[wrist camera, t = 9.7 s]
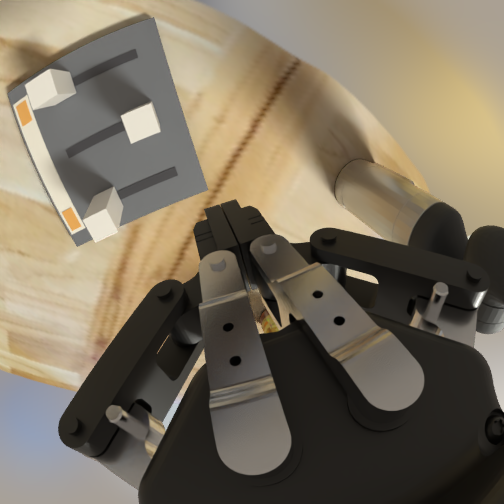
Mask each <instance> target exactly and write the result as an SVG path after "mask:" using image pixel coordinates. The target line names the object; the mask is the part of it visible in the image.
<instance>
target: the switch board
mask: <svg viewBox="0 0 504 504" xmlns="http://www.w3.org/2000/svg"><path fill="white" fill-rule="evenodd" d="M48 69H55V70H61V71H67V72H70V74H71V78H72V81H73V84H74V87H75V90H76V94H74V95H72V96H70V97H69V98H67V99H65V100H63V101H62V102H60V103H58V104H56V105H54V106H49V107H44V108H40V109H36V110H33V109H32V106H31V103H30V100H29V97H28V94H27V91H26V87H25V85H26V84H27V83H28V82H30V81H31V80H33V79H34V78H36V77H37V76H39V75H40V74H42V73H44V72H45V71H47V70H48ZM8 97H9V100H10V103H11V106H12V110H13V113H14V116H15V119H16V121H17V124H18V127H19V130H20V132H21V135H22V138H23V140H24V143H25V145H26V148H27V150H28V153H29V155H30V157H31V160H32V162H33V164H34V166H35V169H36V171H37V173H38V175H39V177H40V179H41V181H42V184H43V186H44V188H45V190H46V192H47V194H48V196H49V198H50V200H51V201H52V203H53V205H54V207H55V209H56V211H57V213H58V215H59V216H60V218H61V220H62V222H63V224H64V225H65V227H66V229H67V230H68V232H69V234H70V236H71V237H72V239H73V241H74V242H75V244H76V246H77V247H78V246H80V245H82V244H84V243H86V242H88V241H90V240H92V239H93V238H92V236H91V235H90V233H89V231H88V229H87V227H86V226H85V224H84V222H83V218H84V216H85V213H86V211H87V209H88V207H89V205H90V203H91V201H92V199H93V197H94V196H95V195H97V194H99V193H101V192H103V191H105V190H107V189H109V188H111V187H113V186H114V187H115V190H116V192H117V194H118V196H119V198H120V200H121V202H122V204H123V211H122V216H121V221H120V226H122V225H124V224H126V223H129V222H131V221H133V220H135V219H138V218H140V217H142V216H145V215H147V214H149V213H152V212H154V211H156V210H159V209H161V208H164V207H166V206H169V205H171V204H173V203H176V202H178V201H181V200H183V199H186V198H188V197H191V196H194V195H196V194H199V193H201V192H204V191H207V190H208V188H207V185H206V182H205V179H204V176H203V173H202V170H201V167H200V164H199V161H198V158H197V155H196V151H195V148H194V145H193V142H192V139H191V136H190V133H189V130H188V127H187V124H186V121H185V117H184V114H183V111H182V108H181V105H180V102H179V99H178V95H177V92H176V89H175V86H174V82H173V79H172V76H171V73H170V69H169V66H168V63H167V60H166V56H165V53H164V50H163V46H162V43H161V40H160V36H159V33H158V29H157V26H156V22H155V19H154V17H153V18H150V19H147V20H144V21H141V22H138V23H135V24H133V25H130V26H127V27H125V28H122V29H120V30H117V31H115V32H112V33H110V34H108V35H105V36H103V37H101V38H99V39H97V40H94V41H92V42H90V43H88V44H86V45H84V46H82V47H80V48H78V49H76V50H74V51H72V52H71V53H69V54H67V55H65V56H63V57H62V58H60V59H58V60H56V61H55V62H53V63H51V64H50V65H48V66H46V67H45V68H43V69H42V70H40V71H39V72H37V73H36V74H34V75H33V76H31V77H30V78H28V79H27V80H25V81H24V82H22V83H21V84H20V85H18V86H17V87H16V88H14V89H13V90H12V91H10V92H9V93H8ZM151 101H152V103H153V106H154V109H155V112H156V115H157V117H158V120H159V123H160V131H161V132H159V133H156V134H154V135H151V136H149V137H146V138H144V139H141V140H139V141H137V142H134V143H132V144H131V142H130V140H129V137H128V134H127V132H126V129H125V126H124V124H123V121H122V118H121V115H123V114H124V113H126V112H127V111H129V110H132V109H134V108H136V107H139V106H141V105H144V104H146V103H149V102H151ZM120 226H119V227H120Z"/></svg>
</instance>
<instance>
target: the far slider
mask: <svg viewBox="0 0 504 504" xmlns="http://www.w3.org/2000/svg"><path fill="white" fill-rule="evenodd" d="M122 211H123V204H122V202H121V200H120V198H119V196H118V194H117V192H116V190H115V187H114V186H113V187H111V188H109V189H107V190H105V191H103V192H101V193H99V194H97V195H95V196H94V197H93V199H92V201H91V203H90V205H89V207H88V209H87V211H86V213H85V216H84V218H83V222H84V224H85V226H86V227H87V229H88V231H89V233H90V235H91V236H92V238H93V240H94V241H95V243H96V242H98V241H100V240H102V239H104V238H107V237H109V236H111V235H113V234H115V233H117V232H118V231H119V226H120V221H121V216H122Z"/></svg>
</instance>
